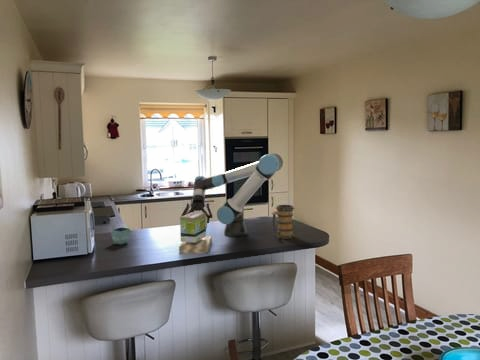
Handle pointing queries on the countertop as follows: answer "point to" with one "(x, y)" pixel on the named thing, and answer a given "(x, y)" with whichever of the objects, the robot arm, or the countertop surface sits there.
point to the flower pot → (120, 235)
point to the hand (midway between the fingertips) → (195, 227)
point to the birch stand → (196, 246)
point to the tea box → (192, 227)
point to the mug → (283, 221)
